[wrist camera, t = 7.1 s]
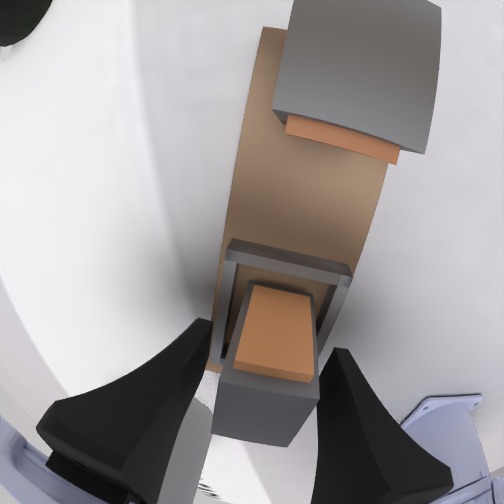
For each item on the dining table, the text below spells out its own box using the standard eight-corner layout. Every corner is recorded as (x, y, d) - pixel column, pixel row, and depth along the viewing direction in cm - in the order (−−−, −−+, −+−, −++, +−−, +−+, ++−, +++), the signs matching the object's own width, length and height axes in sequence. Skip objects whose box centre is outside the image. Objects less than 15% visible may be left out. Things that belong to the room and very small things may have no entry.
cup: (210, 442, 22) (186, 526, 13) (133, 416, 23) (96, 492, 14) (220, 400, 19) (186, 516, 10) (122, 367, 19) (64, 463, 10)
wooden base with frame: (301, 376, 17) (297, 475, 10) (210, 356, 17) (175, 451, 10) (397, 70, 9) (491, 25, 2) (265, 35, 9) (233, -58, 3)
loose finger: (292, 348, 14) (287, 447, 9) (237, 336, 14) (210, 433, 9) (315, 286, 12) (324, 391, 7) (250, 272, 13) (220, 372, 7)
